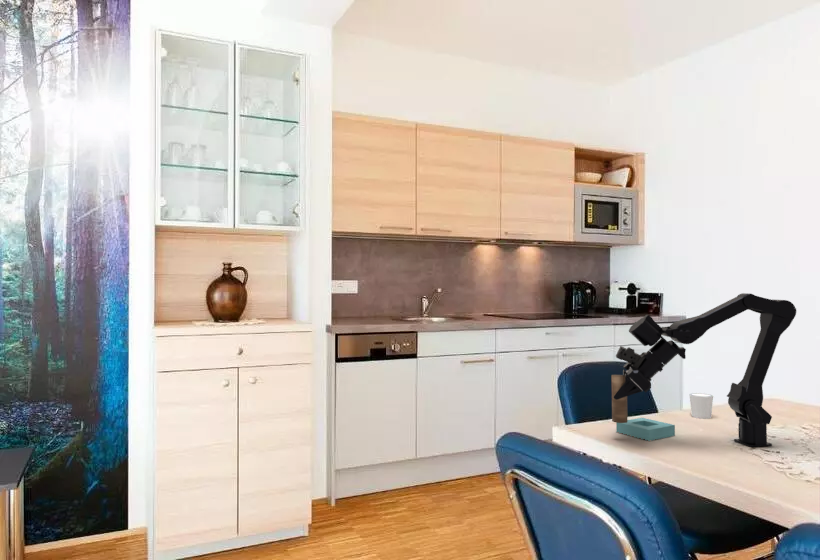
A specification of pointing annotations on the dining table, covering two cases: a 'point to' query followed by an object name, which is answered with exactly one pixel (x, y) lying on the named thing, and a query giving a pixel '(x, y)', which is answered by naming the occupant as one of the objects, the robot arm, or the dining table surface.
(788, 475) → the dining table surface
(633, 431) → the socket block
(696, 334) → the robot arm
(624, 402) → the walnut pin
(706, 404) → the white cup
